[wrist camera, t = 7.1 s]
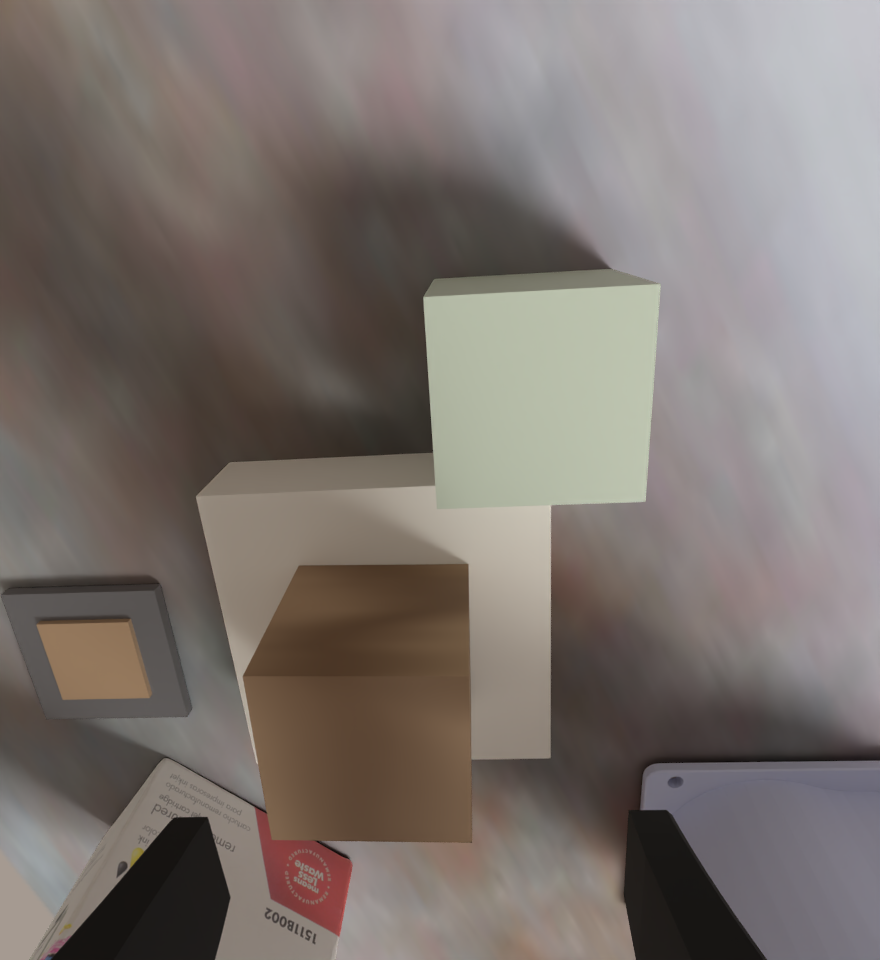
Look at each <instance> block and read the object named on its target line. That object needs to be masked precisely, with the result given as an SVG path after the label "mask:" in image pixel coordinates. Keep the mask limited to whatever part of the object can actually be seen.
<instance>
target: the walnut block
mask: <svg viewBox="0 0 880 960" xmlns="http://www.w3.org/2000/svg"><path fill="white" fill-rule="evenodd" d="M243 682H244V687H245V693H246V699H247V704H248V710H249V715H250V721H251V727H252V732H253V738H254V743H255V749H256V755H257V760H258V766H259V771H260V777H261V783H262V788H263V794H264V799H265V805H266V811H267V816H268V822H269V827H270V833H271V839H272V840H308V841H383V842H459V843H472V770H471V673H470V618H469V564H415V565H300V566H298V568H297V570H296V572H295V574H294V576H293V578H292V580H291V582H290V584H289V586H288V588H287V590H286V592H285V594H284V596H283V598H282V600H281V602H280V603H279V605H278V607H277V609H276V611H275V613H274V615H273V617H272V619H271V621H270V623H269V625H268V627H267V629H266V631H265V633H264V635H263V637H262V639H261V641H260V643H259V645H258V647H257V649H256V651H255V653H254V655H253V657H252V659H251V661H250V663H249V665H248V667H247V669H246V671H245V673H244V674H243Z"/></svg>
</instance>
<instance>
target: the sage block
mask: <svg viewBox="0 0 880 960" xmlns="http://www.w3.org/2000/svg"><path fill="white" fill-rule="evenodd" d="M660 286H661V284H659V283H656V282H653V281H649V280H646V279H643V278H640V277H636V276H633V275H630V274H627V273H623V272H620V271H617V270H613V269H599V270H581V271H563V272H546V273H528V274H511V275H493V276H475V277H458V278H440V279H434V280H433V282H432V283H431V285H430V287H429V288H428V290H427V292H426V293H425V295H424V297H423V302H424V317H425V333H426V348H427V363H428V379H429V394H430V410H431V425H432V441H433V456H434V471H435V487H436V502H437V509H457V508H485V507H513V506H541V505H569V504H597V503H625V502H645V501H646V486H647V472H648V458H649V443H650V429H651V415H652V400H653V386H654V372H655V357H656V343H657V329H658V314H659V300H660Z"/></svg>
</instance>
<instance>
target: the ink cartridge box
mask: <svg viewBox="0 0 880 960" xmlns="http://www.w3.org/2000/svg"><path fill="white" fill-rule="evenodd" d="M174 817H208V819H209V823H210V826H211V830H212V833H213V837H214V840H215V844H216V847H217V851H218V854H219V858H220V862H221V865H222V869H223V872H224V876H225V879H226V883H227V886H228V890H229V893H230V897H231V898H230V902H229V906H228V911H227V915H226V919H225V923H224V927H223V931H222V935H221V939H220V943H219V947H218V950H217V954H216V958H215V960H335V958H336V953H337V947H338V942H339V936H340V932H341V926H342V920H343V915H344V909H345V904H346V899H347V893H348V888H349V883H350V877H351V872H352V862H351V861H350V860H349V859H347V858H344V857H342V856H340V855H338V854H337V853H335V852H333V851H331V850H329V849H328V848H326V847H324V846H323V845H321V844H319V843H318V842H316V841H308V840H272V839H271V833H270V827H269V822H268V816H267V814H266V813H265V812H263V811H261V810H259V809H257V808H256V807H254V806H252V805H251V804H249V803H247V802H245V801H244V800H242V799H240V798H238V797H237V796H235V795H233V794H231V793H229V792H227V791H226V790H224V789H222V788H220V787H219V786H217V785H215V784H214V783H212V782H210V781H209V780H207V779H205V778H203V777H201V776H199V775H198V774H196V773H194V772H192V771H191V770H189V769H187V768H186V767H184V766H182V765H180V764H179V763H177V762H175V761H173V760H171V759H168V758H164V759H163V760H162V761H161V762H160V763H159V764H158V765H157V766H156V768H155V769H154V770H153V772H152V773H151V774H150V776H149V777H148V779H147V780H146V781H145V783H144V784H143V785H142V787H141V788H140V789H139V791H138V792H137V793H136V795H135V796H134V797H133V799H132V800H131V801H130V803H129V804H128V805H127V807H126V808H125V809H124V811H123V812H122V813H121V815H120V816H119V817H118V819H117V820H116V821H115V822H114V824H113V825H112V826H111V828H110V829H109V830H108V831H107V833H106V834H105V836H104V837H103V839H102V840H101V842H100V843H99V845H98V847H97V848H96V850H95V852H94V853H93V855H92V857H91V858H90V860H89V861H88V863H87V865H86V866H85V868H84V870H83V871H82V873H81V875H80V876H79V878H78V880H77V881H76V883H75V885H74V886H73V888H72V890H71V891H70V893H69V895H68V896H67V898H66V900H65V901H64V903H63V905H62V906H61V908H60V910H59V911H58V913H57V915H56V916H55V918H54V920H53V921H52V923H51V925H50V926H49V928H48V930H47V931H46V933H45V935H44V936H43V938H42V940H41V941H40V943H39V944H38V946H37V948H36V949H35V951H34V953H33V954H32V956H31V958H30V959H29V960H50V959H51V958H52V957H53V956H54V955H55V954H56V953H57V952H58V951H59V949H60V948H61V947H62V946H63V945H64V944H65V943H66V942H67V940H68V939H69V938H70V937H71V936H72V935H73V934H74V933H75V931H76V930H77V929H78V928H79V927H80V926H81V925H82V923H83V922H84V921H85V920H86V919H87V918H88V917H89V916H90V914H91V913H92V912H93V911H94V910H95V909H96V908H97V906H98V905H99V904H100V903H101V902H102V901H103V900H104V898H105V897H106V896H107V895H108V894H109V893H110V891H111V890H112V889H113V888H114V887H115V886H116V884H117V883H118V882H119V881H120V880H121V879H122V877H123V876H124V875H125V874H126V873H127V871H128V870H129V869H130V868H131V867H132V866H133V864H134V863H135V862H136V861H137V860H138V858H139V857H140V856H141V855H142V854H143V853H144V851H145V850H146V849H147V848H148V847H149V845H150V844H151V843H152V842H153V841H154V839H155V838H156V837H157V836H158V835H159V834H160V832H161V831H162V830H163V829H164V828H165V827H166V825H167V824H168V823H169V822H170V821H171V820H172V819H173V818H174Z"/></svg>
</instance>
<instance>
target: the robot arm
mask: <svg viewBox="0 0 880 960" xmlns="http://www.w3.org/2000/svg"><path fill="white" fill-rule="evenodd" d="M672 777H676V778H673V779H670V778H672ZM624 897H625V903H626V908H627V914H628V919H629V925H630V930H631V936H632V941H633V946H634V951H635V956H636V960H880V761H806V762H723V763H657V764H652V765H650V766H648V767H647V768H646V769H645V770H644V773H643V780H642V792H641V804H640V810H629V815H628V833H627V851H626V869H625V887H624ZM230 898H231V897H230V893H229V890H228V886H227V883H226V879H225V876H224V872H223V869H222V865H221V862H220V858H219V854H218V851H217V847H216V844H215V840H214V837H213V833H212V830H211V826H210V823H209V819H208V817H174V818H173V819H172V820H171V821H170V822H169V823H168V824H167V825H166V827H165V828H164V829H163V830H162V831H161V832H160V834H159V835H158V836H157V837H156V838H155V839H154V841H153V842H152V843H151V844H150V845H149V847H148V848H147V849H146V850H145V851H144V853H143V854H142V855H141V856H140V857H139V858H138V860H137V861H136V862H135V863H134V864H133V866H132V867H131V868H130V869H129V870H128V871H127V873H126V874H125V875H124V876H123V877H122V879H121V880H120V881H119V882H118V883H117V884H116V886H115V887H114V888H113V889H112V890H111V891H110V893H109V894H108V895H107V896H106V897H105V898H104V900H103V901H102V902H101V903H100V904H99V905H98V906H97V908H96V909H95V910H94V911H93V912H92V913H91V914H90V916H89V917H88V918H87V919H86V920H85V921H84V922H83V923H82V925H81V926H80V927H79V928H78V929H77V930H76V931H75V933H74V934H73V935H72V936H71V937H70V938H69V939H68V940H67V942H66V943H65V944H64V945H63V946H62V947H61V948H60V949H59V951H58V952H57V953H56V954H55V955H54V956H53V957H52V958H51V959H50V960H215V958H216V954H217V950H218V947H219V943H220V939H221V935H222V931H223V927H224V923H225V919H226V915H227V911H228V906H229V902H230Z"/></svg>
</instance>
